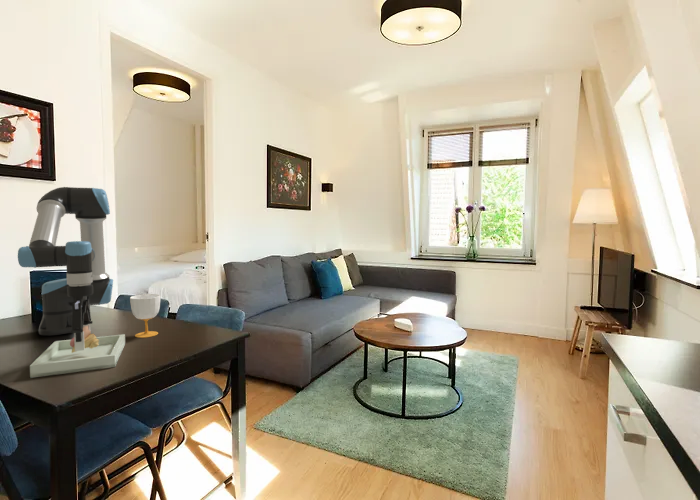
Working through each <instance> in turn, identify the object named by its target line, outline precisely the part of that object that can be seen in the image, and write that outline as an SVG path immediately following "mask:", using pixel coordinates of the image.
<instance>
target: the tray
mask: <svg viewBox="0 0 700 500" xmlns="http://www.w3.org/2000/svg"><path fill="white" fill-rule="evenodd" d="M96 339H98V340H99V342H98V344H99V345H98V346H97V347H94V348H92V349H91V348H89V347H88V348H85V350H82V351H76V352H73V353H72V349H73V347H71V346H70V342H71V340H72V339H66V340H65V339H64V340H55V341H54V342H53V343H52V344H50V346H48V347H47V349H46V350H44V351H43V352H42V353H41V354H40V355H39V356H38V357H37V358H36V359H35V360H34V361H33V362H32V363H31V364H30V365H29V377H30V379H33V378H39V377H48V376H55V375H57V376H58V375H62V374H64V375H65V374H71V373H77V372H78V373H80V372H89V371H94V370H101V369H110V368H116V366H117V364H118V361H119V359H120V357H121V355H122V352H123V350H124V347H125V346H126V334H124V333H122V334H114V335H101V336H96Z"/></svg>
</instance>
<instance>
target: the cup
mask: <svg viewBox="0 0 700 500" xmlns="http://www.w3.org/2000/svg"><path fill="white" fill-rule="evenodd" d="M129 301H130V302H129V303H130V309H131V310H130V311H131V312H132V315H133V316H134V317H135V318H136V319H138V320H140V321H144V326H145V327H144V331H142V332H139V333H136V334H135V335H134V337H135V338H140V339H141V338H143V339H144V338H145V339H146V338H152V337H155V336H158V334H159V332H158V331H155V330H154V331H153V330H151V331H150V330H149V326H148V325H149V324H148V321H149V320H151V319H153V318H155V317H156V316H157V315H158V314H159V312H160V308H161V295H160V294H157V293H144V294H136V295H132V296H130V297H129Z"/></svg>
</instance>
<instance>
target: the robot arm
mask: <svg viewBox="0 0 700 500" xmlns="http://www.w3.org/2000/svg"><path fill="white" fill-rule="evenodd" d="M36 212H37V216H36V220H35V223H34V227H33V231H32V233H31V237H30V241H29V244H28V245H26V246H21V247H19V248H18V250H17V261H18V265H19V266H20V267H21V268H48V267H49V268H50V267H65V268H66V278H60V279H59V278H58V279H55V280H50V281H47V282H44V283H43V284H42V285H41V294H40V295H41V301H42V302H41V303H42V317H41V321H40V324H39V327H38V334H39V335H40V336H59V335H65V334H73V338H74V344H75V351H82V350H85V345H84V331H83V327H85V326H88V330H90V331H91V324H92V325H93V320H92V317H91V316H92V315H91V308H90V306H97V305H98V306H101V305H107V304H109V303H110V302H112V301H111V299H112V294H113V287H114V286H113V285H114V279H112V278H110V274H108V273H107V272H106V261H105V244H104V242H105V240H104V225H103V224H104V222H105V220H106V219H107V215H110V214H111V211H110V204H109V199H108V195H107V192H106V190H105V189H103V188H96V187H74V186H73V187H71V186H69V187H68V186H63V187H57V188H54V189H52V190H50V191H48V192H47V193H45V194H44V195H43V196H41V198H39V200H38V202H37V204H36ZM66 214H67V215H68V214H69V215H74V217H75V219H76V220H77V221H78V222H79V229H80V240H79V241H78V240H77V241H76V240H74V241H66V242H65V245H57V241H58V240H57V239H58V235H59V231H60V225H61V221H62V218H63V217H64V216H66Z"/></svg>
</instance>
